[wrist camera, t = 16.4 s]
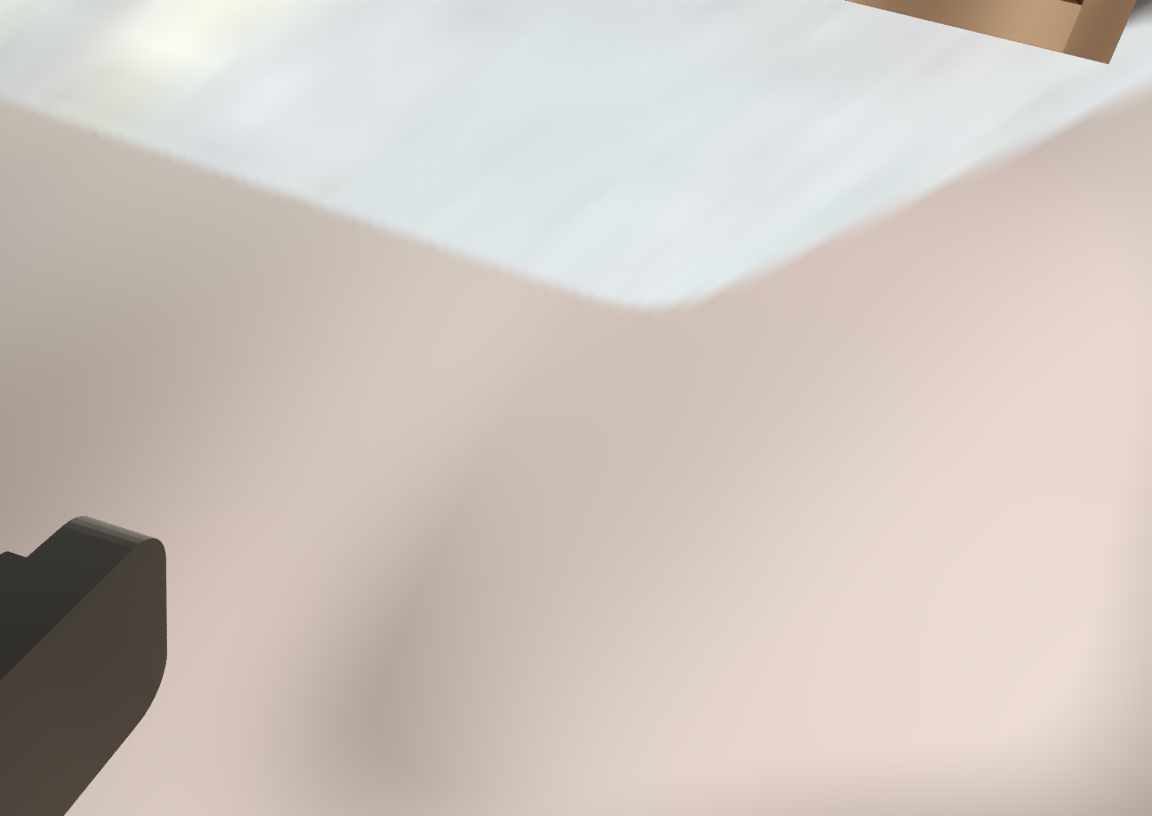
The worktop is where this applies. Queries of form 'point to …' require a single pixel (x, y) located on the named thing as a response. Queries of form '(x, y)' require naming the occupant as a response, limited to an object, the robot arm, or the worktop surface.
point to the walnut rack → (1029, 21)
